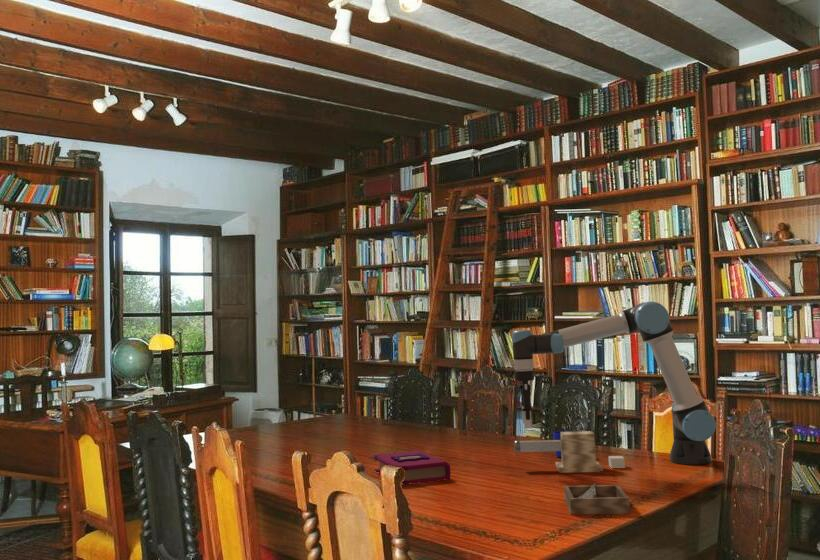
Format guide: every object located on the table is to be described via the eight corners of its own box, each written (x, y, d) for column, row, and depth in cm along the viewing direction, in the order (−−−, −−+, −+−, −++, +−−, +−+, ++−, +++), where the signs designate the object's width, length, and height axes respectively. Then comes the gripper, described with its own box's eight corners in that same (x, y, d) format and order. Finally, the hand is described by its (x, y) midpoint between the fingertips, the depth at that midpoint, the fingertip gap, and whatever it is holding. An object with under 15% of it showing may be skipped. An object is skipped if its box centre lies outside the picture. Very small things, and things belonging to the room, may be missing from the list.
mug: (584, 458, 302) (583, 433, 302) (554, 458, 304) (552, 433, 304) (583, 454, 310) (582, 430, 310) (554, 454, 312) (553, 430, 312)
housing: (597, 464, 289) (595, 429, 290) (603, 471, 275) (601, 435, 276) (555, 465, 291) (554, 430, 291) (559, 472, 277) (557, 436, 277)
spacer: (608, 456, 285) (608, 466, 285) (611, 458, 280) (611, 469, 280) (621, 455, 285) (622, 466, 284) (624, 458, 280) (625, 468, 280)
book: (423, 467, 298) (422, 448, 299) (451, 480, 272) (450, 459, 272) (373, 473, 291) (372, 453, 291) (396, 487, 265) (396, 465, 265)
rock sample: (565, 488, 235) (585, 472, 231) (583, 502, 236) (603, 486, 233) (567, 510, 225) (588, 493, 222) (586, 524, 226) (607, 508, 223)
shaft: (588, 449, 285) (587, 438, 285) (589, 451, 281) (589, 440, 281) (514, 451, 288) (514, 439, 288) (515, 453, 283) (514, 441, 283)
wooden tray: (619, 499, 234) (618, 485, 234) (629, 513, 217) (629, 498, 217) (564, 500, 236) (564, 485, 236) (570, 514, 219) (570, 499, 219)
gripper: (512, 368, 299) (516, 421, 298) (515, 373, 275) (519, 430, 273) (531, 367, 299) (534, 420, 297) (536, 372, 274) (539, 430, 273)
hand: (527, 425), depth 285 cm, fingers open, 13 cm apart
